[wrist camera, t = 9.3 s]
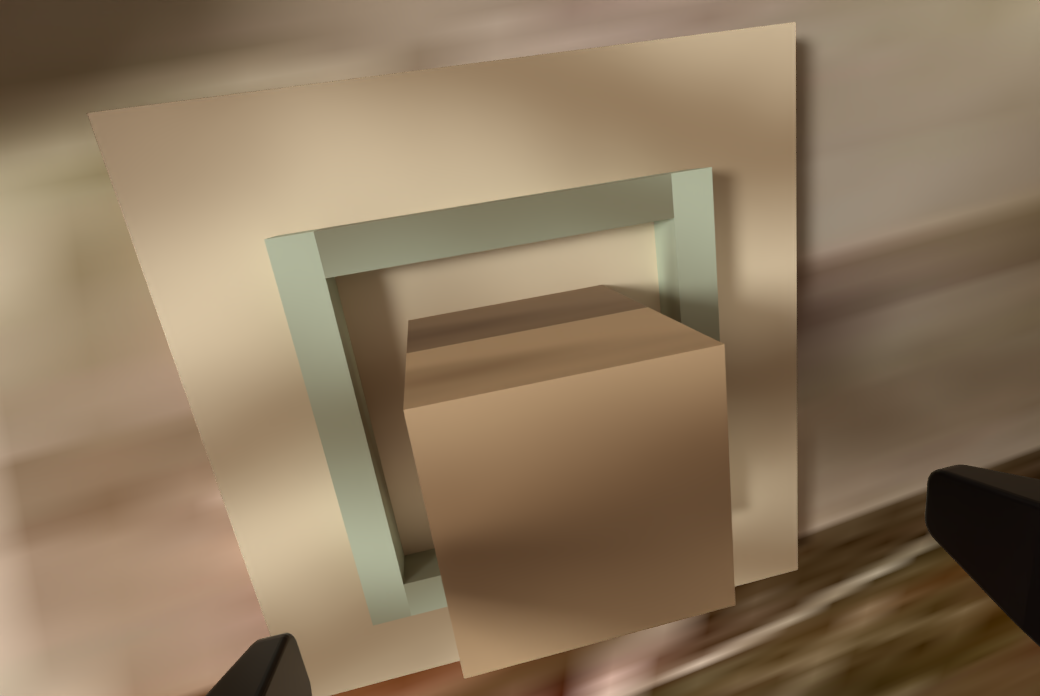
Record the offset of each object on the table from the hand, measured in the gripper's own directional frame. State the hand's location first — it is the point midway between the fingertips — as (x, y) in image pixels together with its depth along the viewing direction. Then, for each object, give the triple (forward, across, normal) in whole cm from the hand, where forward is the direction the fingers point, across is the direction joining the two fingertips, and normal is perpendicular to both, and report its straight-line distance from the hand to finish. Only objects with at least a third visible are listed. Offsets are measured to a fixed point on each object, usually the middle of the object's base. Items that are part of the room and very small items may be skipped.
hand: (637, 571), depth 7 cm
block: (+8, 0, 0) cm, 8 cm away
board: (+9, 0, 0) cm, 9 cm away
